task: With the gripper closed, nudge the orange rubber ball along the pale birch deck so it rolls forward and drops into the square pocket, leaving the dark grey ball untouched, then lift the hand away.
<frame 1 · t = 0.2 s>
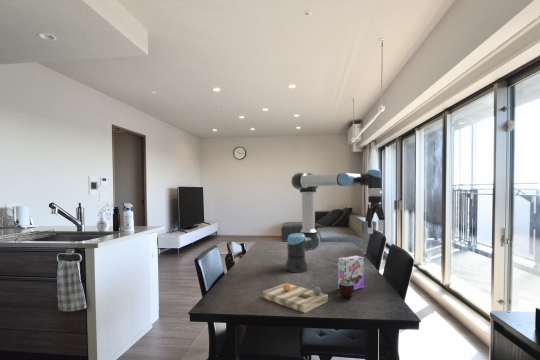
hand: (375, 232, 168), 28 cm above the table, fingers open, 13 cm apart
candy box: (351, 288, 154), on the table
deck: (294, 299, 139), on the table
grey ball: (317, 290, 137), point 5 cm above the table, touching deck
orange ball: (286, 287, 143), point 5 cm above the table, touching deck
mate gourd: (347, 297, 141), on the table
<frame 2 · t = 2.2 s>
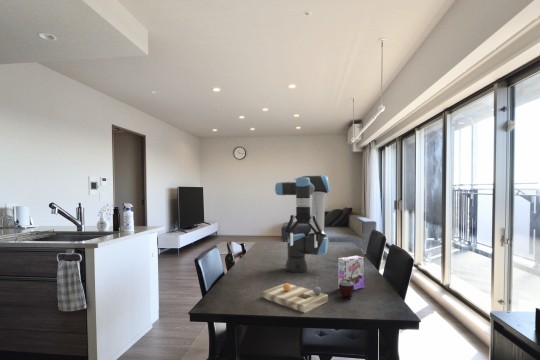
hand: (303, 246, 153), 23 cm above the table, fingers open, 13 cm apart
nothing on the table moved.
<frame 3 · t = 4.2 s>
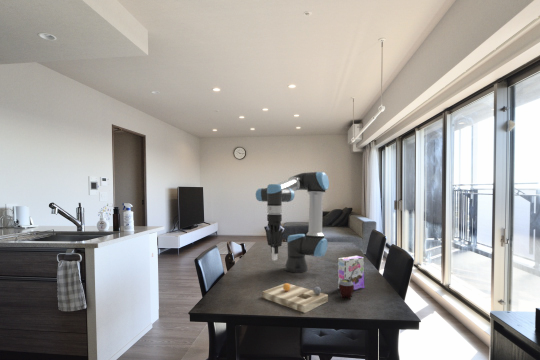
hand: (274, 259, 148), 17 cm above the table, fingers closed
nothing on the table moved.
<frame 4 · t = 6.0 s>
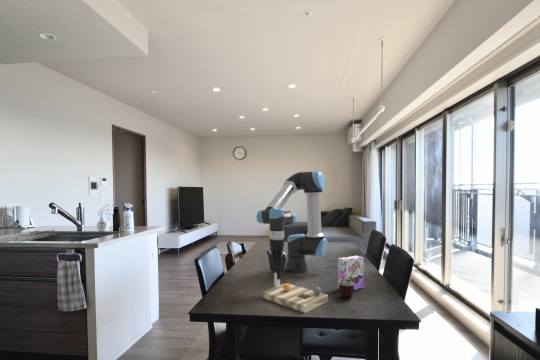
hand: (277, 285, 147), 4 cm above the table, fingers closed
nothing on the table moved.
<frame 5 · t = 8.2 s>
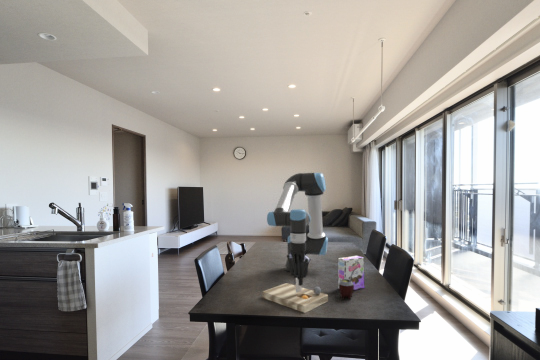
hand: (298, 291, 137), 4 cm above the table, fingers closed
orange ball: (304, 299, 134), point 2 cm above the table, tilted 35°
everything else where it was.
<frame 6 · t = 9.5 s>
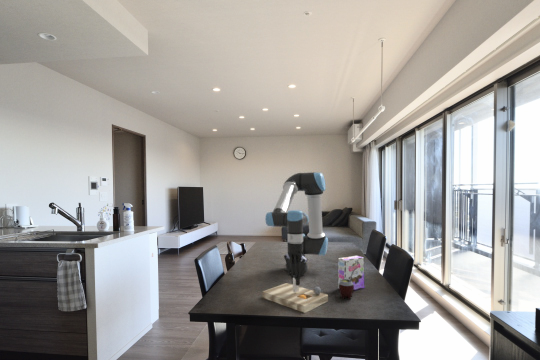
hand: (295, 291, 139), 4 cm above the table, fingers closed
orange ball: (302, 298, 135), point 2 cm above the table, tilted 6°
everything else where it was.
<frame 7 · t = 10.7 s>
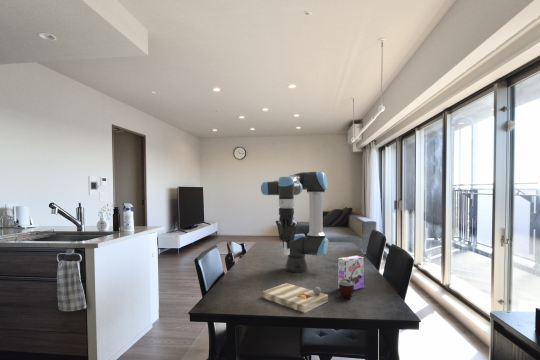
hand: (286, 254, 144), 20 cm above the table, fingers closed
nothing on the table moved.
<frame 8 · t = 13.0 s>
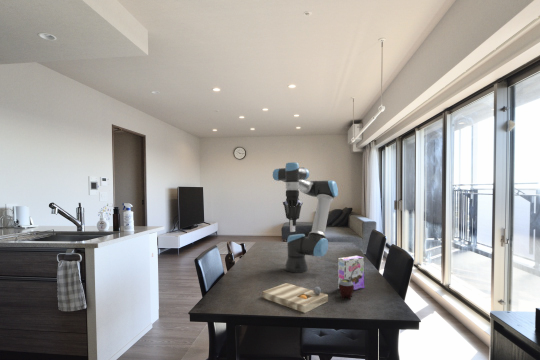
hand: (292, 231, 163), 29 cm above the table, fingers closed
at the end: orange ball 0.6 cm from the target spot on the deck, point 1.8 cm above the deck's base; grey ball moved 0.1 cm from its start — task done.
